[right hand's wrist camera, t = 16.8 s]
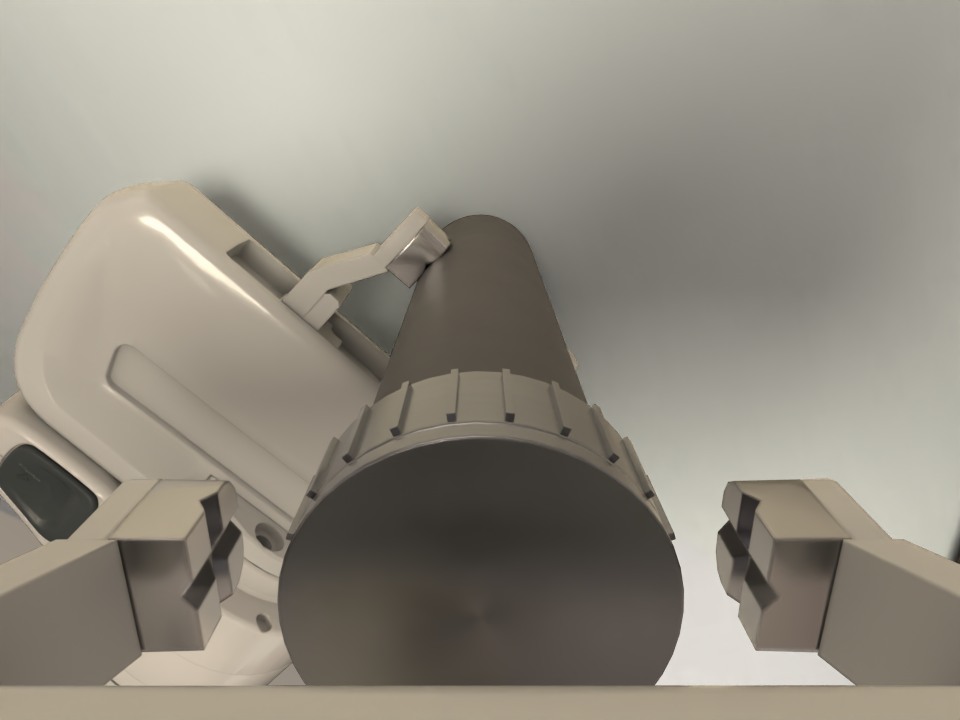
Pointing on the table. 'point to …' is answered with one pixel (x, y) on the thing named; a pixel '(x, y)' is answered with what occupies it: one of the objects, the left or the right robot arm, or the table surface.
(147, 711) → the right robot arm
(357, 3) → the table surface
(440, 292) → the dark capped cylinder
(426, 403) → the lid
